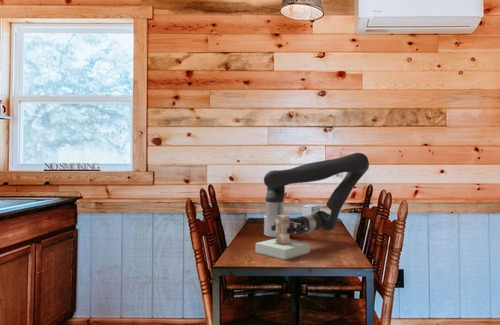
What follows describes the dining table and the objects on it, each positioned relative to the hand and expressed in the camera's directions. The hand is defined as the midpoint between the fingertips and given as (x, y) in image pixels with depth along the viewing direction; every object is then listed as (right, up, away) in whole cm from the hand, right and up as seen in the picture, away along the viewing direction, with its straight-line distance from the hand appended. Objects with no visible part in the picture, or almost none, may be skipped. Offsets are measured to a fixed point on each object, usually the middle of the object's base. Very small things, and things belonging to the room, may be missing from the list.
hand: (279, 229), depth 155 cm
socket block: (+1, -10, +1) cm, 10 cm away
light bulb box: (+25, -9, +75) cm, 80 cm away
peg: (+1, -9, +1) cm, 10 cm away
